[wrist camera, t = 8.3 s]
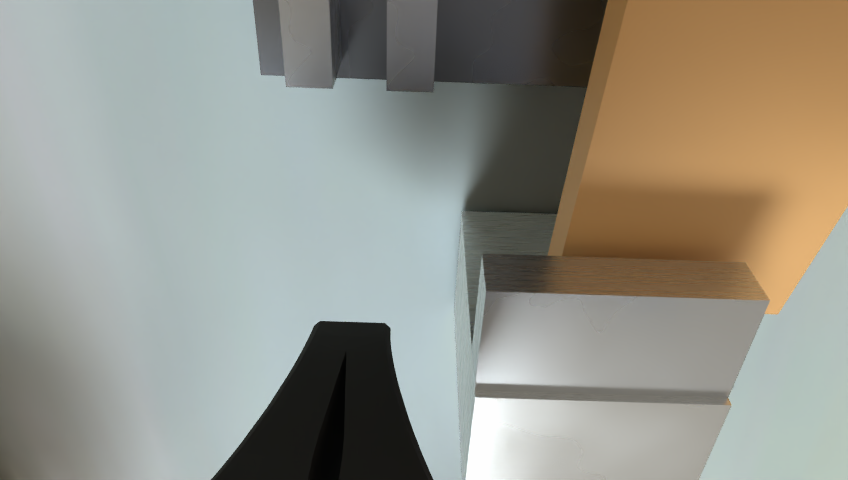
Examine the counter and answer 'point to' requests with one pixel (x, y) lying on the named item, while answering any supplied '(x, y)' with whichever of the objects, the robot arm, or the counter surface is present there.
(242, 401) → the counter surface
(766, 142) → the orange rectangular bar
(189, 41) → the counter surface
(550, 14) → the heatsink block
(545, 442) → the block
